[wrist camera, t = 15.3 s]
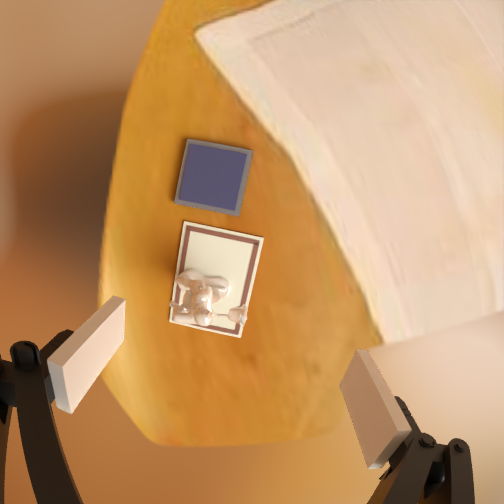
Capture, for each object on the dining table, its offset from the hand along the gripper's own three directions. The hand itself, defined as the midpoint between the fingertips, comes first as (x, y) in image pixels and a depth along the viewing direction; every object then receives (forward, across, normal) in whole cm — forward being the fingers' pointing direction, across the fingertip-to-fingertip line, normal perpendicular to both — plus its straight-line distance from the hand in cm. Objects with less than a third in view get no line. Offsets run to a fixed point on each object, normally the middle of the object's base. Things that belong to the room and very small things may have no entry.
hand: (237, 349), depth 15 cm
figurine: (+22, -4, -5) cm, 23 cm away
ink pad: (+23, -6, +8) cm, 25 cm away
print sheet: (+22, -3, -5) cm, 23 cm away
